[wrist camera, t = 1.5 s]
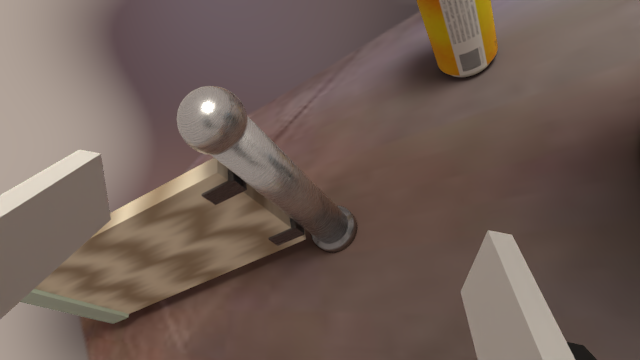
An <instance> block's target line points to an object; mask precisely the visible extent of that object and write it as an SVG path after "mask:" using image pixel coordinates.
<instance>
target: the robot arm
mask: <svg viewBox="0 0 640 360" xmlns="http://www.w3.org/2000/svg"><path fill="white" fill-rule="evenodd" d="M110 220H111V216H110V210H109V204H108V198H107V191H106V184H105V178H104V171H103V165H102V159H101V154H100V153H94V152H89V151H84V150H78V151H76V152H74V153H73V154H71V155H69V156H67V157H66V158H64V159H62V160H61V161H59V162H57V163H55V164H54V165H52V166H50V167H48V168H47V169H45V170H43V171H41V172H40V173H38V174H36V175H35V176H33V177H31V178H29V179H28V180H26V181H24V182H23V183H21V184H19V185H17V186H15V187H14V188H12V189H10V190H8V191H7V192H5V193H3V194H1V195H0V319H1V318H2V317H3V316H4V315H6V314H7V313H8V312H9V311H10V310H11V309H12V308H13V307H14V306H16V305H17V304H18V303H19V302H20V301H21V300H22V299H23V298H24V297H26V296H27V295H28V294H29V293H30V292H31V291H32V290H33V289H34V288H36V287H37V286H38V285H39V284H40V283H41V282H42V281H43V280H44V279H46V278H47V277H48V276H49V275H50V274H51V273H52V272H53V271H54V270H56V269H57V268H58V267H59V266H60V265H61V264H62V263H63V262H64V261H66V260H67V259H68V258H69V257H70V256H71V255H72V254H73V253H74V252H76V251H77V250H78V249H79V248H80V247H81V246H82V245H83V244H84V243H86V242H87V241H88V240H89V239H90V238H91V237H92V236H93V235H94V234H96V233H97V232H98V231H99V230H100V229H101V228H102V227H103V226H104V225H105V224H107V223H108V222H109V221H110ZM461 296H462V300H463V304H464V308H465V311H466V315H467V319H468V323H469V327H470V331H471V335H472V339H473V343H474V347H475V351H476V355H477V359H478V360H596V358H595V357H594V356H593V355H592V354H591V353H590V352H589V351H588V350H587V349H586V348H585V347H584V346H583V345H578V344H574V343H569V342H566V340H565V338H564V336H563V334H562V332H561V330H560V328H559V326H558V325H557V323H556V321H555V319H554V317H553V315H552V313H551V311H550V309H549V307H548V305H547V303H546V301H545V299H544V297H543V295H542V293H541V291H540V289H539V287H538V285H537V283H536V281H535V279H534V277H533V275H532V273H531V271H530V269H529V267H528V265H527V263H526V261H525V259H524V257H523V255H522V254H521V252H520V250H519V248H518V246H517V244H516V242H515V240H514V238H513V236H512V235H511V234H506V233H500V232H495V231H490V230H488V231H487V233H486V236H485V238H484V240H483V242H482V245H481V247H480V249H479V251H478V254H477V256H476V258H475V260H474V263H473V265H472V267H471V269H470V272H469V274H468V276H467V278H466V281H465V283H464V285H463V287H462V290H461Z"/></svg>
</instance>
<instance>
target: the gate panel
mask: <svg viewBox="0 0 640 360" xmlns="http://www.w3.org/2000/svg"><path fill="white" fill-rule="evenodd" d="M110 216H111V220H110V221H109V222H108V223H107V224H105V225H104V226H103V227H102V228H101V229H100V230H99V231H98V232H97V233H96V234H94V235H93V236H92V237H91V238H90V239H89V240H88V241H87V242H86V243H84V244H83V245H82V246H81V247H80V248H79V249H78V250H77V251H76V252H74V253H73V254H72V255H71V256H70V257H69V258H68V259H67V260H66V261H64V262H63V263H62V264H61V265H60V266H59V267H58V268H57V269H56V270H54V271H53V272H52V273H51V274H50V275H49V276H48V277H47V278H46V279H44V280H43V281H42V282H41V283H40V284H39V285H38V286H37V287H36V288H34V289H33V290H32V291H31V292H30V293H29V294H28V295H27V296H26V297H24V298H23V299H22V300H21V301H20V302H23V303H27V304H31V305H36V306H40V307H44V308H49V309H53V310H57V311H61V312H66V313H70V314H74V315H78V316H82V317H87V318H91V319H95V320H99V321H104V322H108V323H112V324H114V323H116V322H119V321H121V320H124V319H126V318H128V317H129V314H130V313H132V312H135V311H137V310H140V309H142V308H144V307H147V306H149V305H151V304H154V303H156V302H159V301H161V300H163V299H166V298H168V297H170V296H173V295H175V294H177V293H180V292H182V291H185V290H187V289H189V288H192V287H194V286H196V285H199V284H201V283H204V282H206V281H208V280H211V279H213V278H215V277H218V276H220V275H222V274H225V273H227V272H230V271H232V270H234V269H237V268H239V267H241V266H244V265H246V264H249V263H251V262H253V261H256V260H258V259H260V258H263V257H265V256H267V255H270V254H272V253H275V252H277V251H279V250H282V249H284V248H286V247H289V246H291V245H294V244H296V243H298V242H301V241H303V240H305V239H306V236H305V230H304V228H303V227H302V226H300V225H299V224H298V223H297V222H295V221H294V220H293V219H292V218H290V217H289V216H288V215H287V214H285V213H284V212H283V211H281V210H280V209H279V208H278V207H276V206H275V205H274V204H273V203H271V202H270V201H269V200H268V199H266V198H265V197H264V196H262V195H261V194H260V193H259V192H257V191H256V190H255V189H254V188H252V187H251V186H250V185H249V184H247V183H246V182H245V181H243V180H242V179H241V178H240V177H238V176H237V175H236V174H235V173H233V172H232V171H231V170H229V169H228V168H227V167H226V166H224V165H223V164H222V163H221V162H219V161H218V160H217V159H216V158H213V159H211V160H209V161H207V162H205V163H203V164H202V165H200V166H198V167H196V168H194V169H192V170H190V171H188V172H187V173H185V174H183V175H181V176H179V177H177V178H175V179H173V180H172V181H170V182H168V183H166V184H164V185H162V186H160V187H158V188H157V189H155V190H153V191H151V192H149V193H147V194H145V195H143V196H142V197H140V198H138V199H136V200H134V201H132V202H130V203H128V204H127V205H125V206H123V207H121V208H119V209H117V210H115V211H113V212H112V213H110Z"/></svg>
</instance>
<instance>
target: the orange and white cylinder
mask: <svg viewBox="0 0 640 360" xmlns="http://www.w3.org/2000/svg"><path fill="white" fill-rule="evenodd" d="M417 3H418V6H419V9H420V12H421V15H422V18H423V21H424V24H425V27H426V30H427V33H428V36H429V39H430V42H431V46H432V49H433V52H434V55H435V58H436V61H437V64H438V67H439V68H440V70H441V71H443V72H444V73H446V74H449V75H452V76H455V77H468V76H472V75H474V74H477V73H479V72H480V71H482V70H483V69H485V68H486V67H487V66H488V65H489V63H490V62H491V61H492V60H493V58H494V57H495V55H496V53H497V49H498V45H497V39H496V32H495V26H494V20H493V13H492V7H491V1H490V0H417Z"/></svg>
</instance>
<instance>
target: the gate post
mask: <svg viewBox="0 0 640 360" xmlns="http://www.w3.org/2000/svg"><path fill="white" fill-rule="evenodd" d="M177 126H178V129H179V132H180V134H181V136H182V138H183V139H184V141H185V142H186V143H187V144H188V145H189V146H190V147H191V148H193V149H195V150H196V151H198V152H201V153H204V154H209V155H212V156H213V157H214V158H216V159H217V160H218V161H219V162H221V163H222V164H223V165H224V166H226V167H227V168H228V169H229V170H231V171H232V172H233V173H235V174H236V175H237V176H238V177H240V178H241V179H242V180H243V181H245V182H246V183H247V184H249V185H250V186H251V187H252V188H254V189H255V190H256V191H257V192H259V193H260V194H261V195H262V196H264V197H265V198H266V199H268V200H269V201H270V202H271V203H273V204H274V205H275V206H276V207H278V208H279V209H280V210H281V211H283V212H284V213H285V214H287V215H288V216H289V217H290V218H292V219H293V220H294V221H295V222H297V223H298V224H299V225H300V226H302V227H303V228H304V229H306V230H307V231H308V232H309V233H311V235H312V239H313V241H314V242H315V244H316V245H318V246H319V247H320V248H321V249H323V250H324V251H327V252H332V253H333V252H339V251H341V250H343V249H345V248H347V247H348V246H349V245H350V244H351V243H352V241H353V240H354V238H355V236H356V232H357V222H356V219H355V217H354V216H353V215H352V214H351V213H350V212H349V211H348V210H347V209H346V208H344V207H342V206H336V205H335V204H334V203H333V202H332V201H331V200H330V199H329V198H328V197H327V196H326V195H325V194H324V193H323V192H322V191H321V190H320V189H319V188H318V187H317V186H316V185H315V184H314V183H313V182H312V181H311V180H310V179H309V178H308V177H307V176H306V175H305V174H304V173H303V172H302V171H301V170H300V169H299V168H298V167H297V165H296V164H295V163H294V162H293V161H292V160H291V159H290V158H289V157H288V156H287V155H286V154H285V153H284V152H283V151H282V150H281V149H280V148H279V147H278V146H277V145H276V144H275V143H274V142H273V141H272V140H271V139H270V138H269V137H268V136H267V135H266V134H265V133H264V132H263V131H262V130H261V129H260V128H259V127H258V126H257V125H256V124H255V123H254V122H253V121H252V120H251V119H250V118H249V117H248V116H247V113H246V110H245V108H244V106H243V104H242V102H241V101H240V100H239V99H238V97H237V96H235V95H234V94H233V93H232V92H230V91H228V90H226V89H224V88H221V87H217V86H205V87H200V88H198V89H195V90H193V91H192V92H190V93H189V94H188V95H187V96H186V97H185V98H184V99H183V101H182V102H181V104H180V106H179V109H178V113H177Z"/></svg>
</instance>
